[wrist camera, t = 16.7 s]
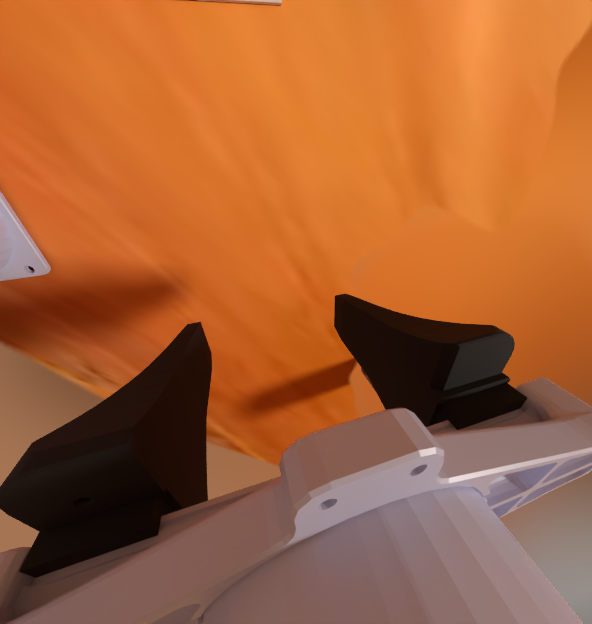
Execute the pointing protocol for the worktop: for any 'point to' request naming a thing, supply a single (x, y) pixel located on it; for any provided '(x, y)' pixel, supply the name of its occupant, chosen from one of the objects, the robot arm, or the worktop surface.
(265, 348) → the worktop surface
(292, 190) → the worktop surface
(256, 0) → the letter mat
